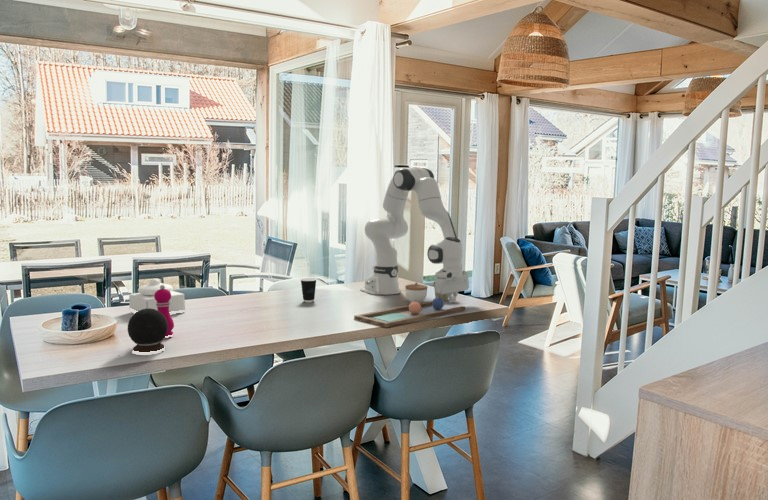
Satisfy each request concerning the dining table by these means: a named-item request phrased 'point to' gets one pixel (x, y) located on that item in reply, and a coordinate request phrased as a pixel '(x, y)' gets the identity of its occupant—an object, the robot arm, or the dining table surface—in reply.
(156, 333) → the black ball on stand
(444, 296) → the flower pot
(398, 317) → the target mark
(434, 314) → the guard rails
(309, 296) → the dixie cup
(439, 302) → the blue ball
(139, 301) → the butter dish
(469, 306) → the dining table surface
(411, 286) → the lidded jar
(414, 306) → the coral ball
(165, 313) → the pepper mill
